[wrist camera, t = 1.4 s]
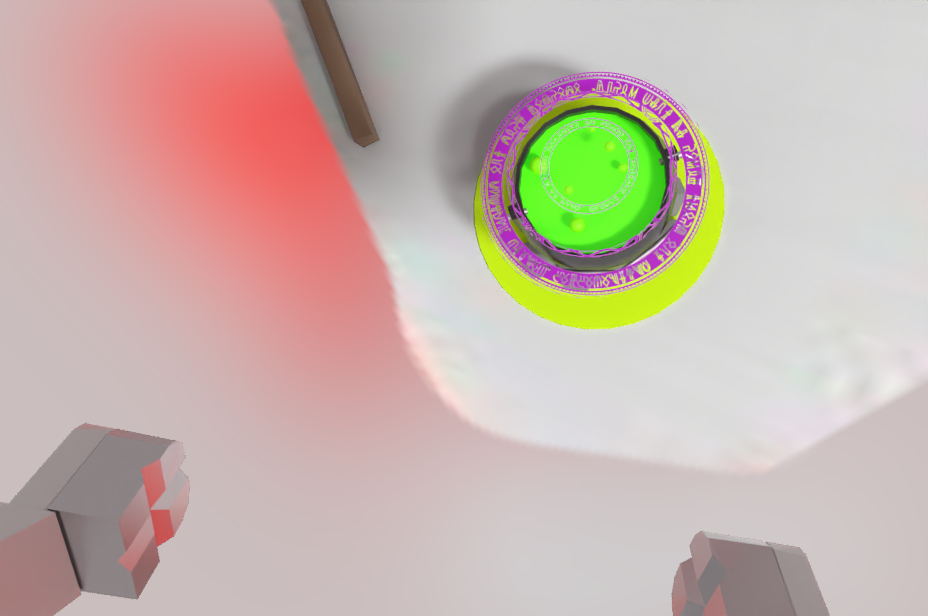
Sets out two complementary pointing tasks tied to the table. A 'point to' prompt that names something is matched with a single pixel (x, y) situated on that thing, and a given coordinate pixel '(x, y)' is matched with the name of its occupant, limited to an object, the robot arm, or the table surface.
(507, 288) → the toy cauldron
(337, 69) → the frame
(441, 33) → the table surface
